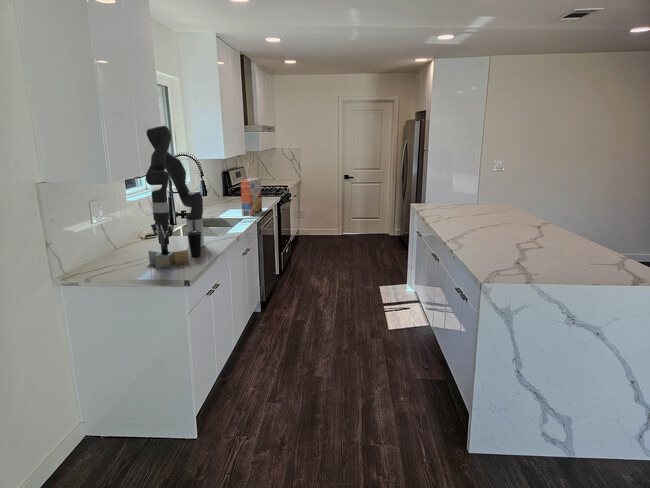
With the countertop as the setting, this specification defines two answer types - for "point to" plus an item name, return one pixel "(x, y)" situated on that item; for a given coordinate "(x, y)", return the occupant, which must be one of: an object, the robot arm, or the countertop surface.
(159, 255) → the hinge
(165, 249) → the hinge pin
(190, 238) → the drinking cup
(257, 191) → the pasta box
